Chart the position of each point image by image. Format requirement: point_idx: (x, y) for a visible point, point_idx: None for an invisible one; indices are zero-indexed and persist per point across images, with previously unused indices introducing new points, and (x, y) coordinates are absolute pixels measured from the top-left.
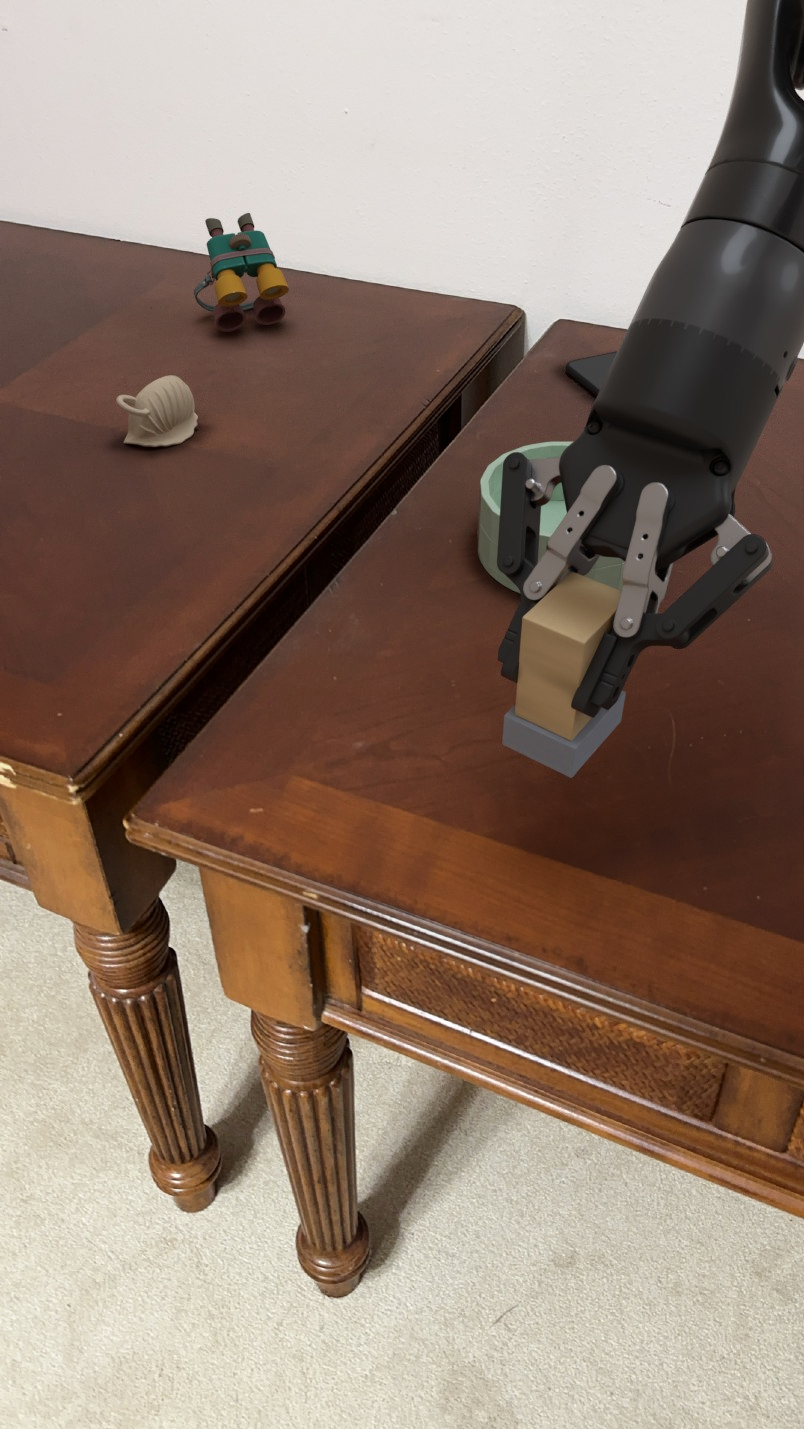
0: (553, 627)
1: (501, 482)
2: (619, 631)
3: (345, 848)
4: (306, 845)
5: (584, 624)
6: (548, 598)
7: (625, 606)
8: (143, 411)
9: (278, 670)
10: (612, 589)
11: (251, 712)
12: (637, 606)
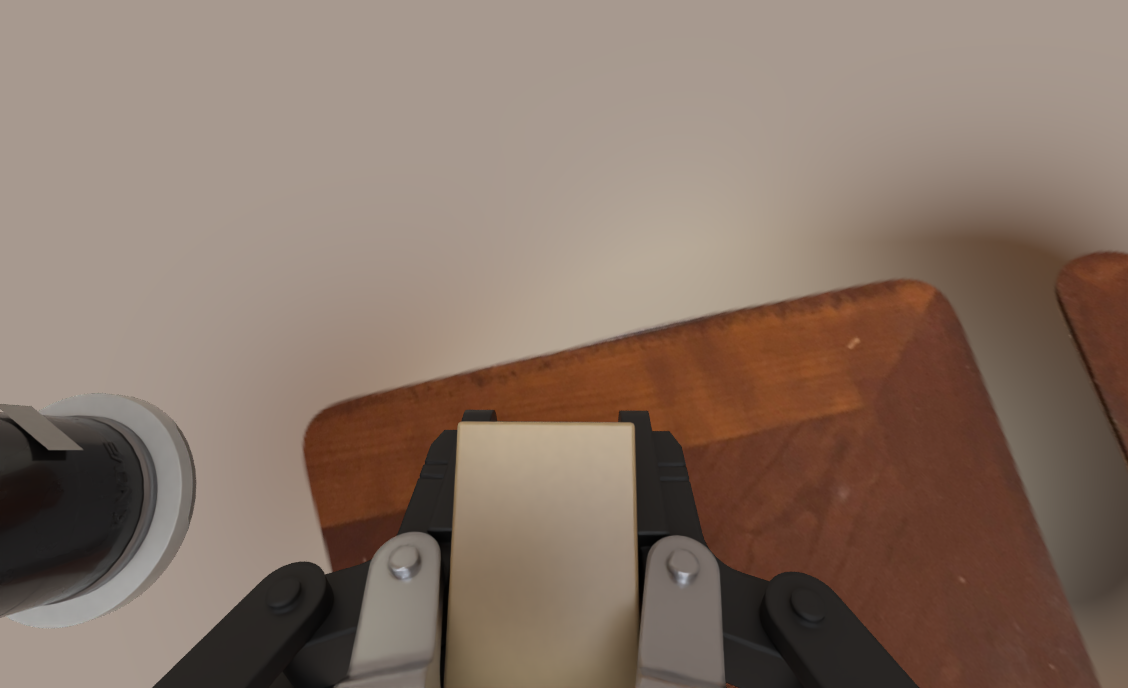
0: (548, 432)
1: None
2: (419, 538)
3: (742, 358)
4: (776, 338)
5: (489, 488)
6: (621, 532)
7: (415, 604)
8: None
9: (1031, 545)
10: (498, 686)
11: (987, 458)
12: (378, 613)
